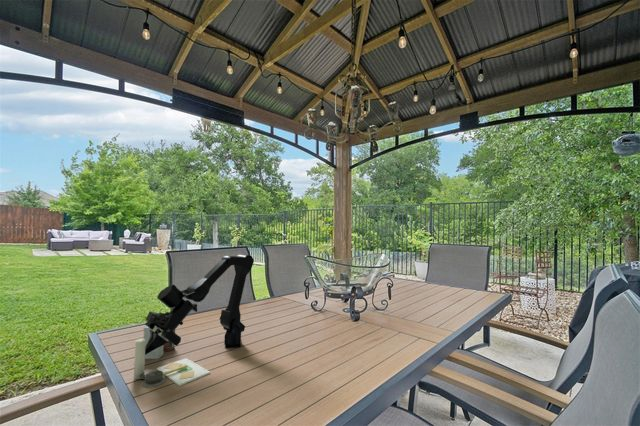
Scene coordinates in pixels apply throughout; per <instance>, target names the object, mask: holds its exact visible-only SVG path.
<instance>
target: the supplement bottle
mask: <svg viewBox="0 0 640 426" xmlns="http://www.w3.org/2000/svg"><path fill="white" fill-rule="evenodd" d="M173 332H175V333H176V329H175V330H174V331H173ZM167 342H169V343H168V344H167V343H166V344H164V345H163V352H169V351H172V350H173V349H175V346H176V345H174V344H173V343H172V342H171V341H169V340H168V341H167Z"/></svg>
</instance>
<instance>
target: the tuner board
mask: <svg viewBox="0 0 640 426" xmlns="http://www.w3.org/2000/svg"><path fill="white" fill-rule="evenodd" d="M184 364H186V365H187V368H184V369H181V370H178V371H175V372H172V373H170V374H167V375H164V376H163V379H162V380H161V381H160V382H157V383H154V384H147V383H146V382H145V380H146V379H143V381H142V383H141V386H142V387H144V388H153V387H158V386H160V385H162V384H164V383H165V381H167V380H166V378H167V379H169V380H170V381H171V382H173V383H174V384H175V385H177V386H178V387H180V386H183V385H185V384H188V383H190V382H193V381H195V380H198V379H200V378H203V377H205V376H207V375H210V374H211V371H209V370H208V369H206V368H204V367H203V366H201V365H199V364H197V363H196V362H194V361H193V360H190V359H189V358H187V357H185V358H181V359H179V360H175V361H173V362H170V363H168V364H165V365H161V366H159V367H156V369H155V371H162V372H166V371H169V370H172V369H174V368H177V367H180V366H181V365H184Z"/></svg>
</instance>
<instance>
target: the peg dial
mask: <svg viewBox="0 0 640 426" xmlns="http://www.w3.org/2000/svg"><path fill="white" fill-rule="evenodd" d="M145 342H146V340H145V339H144V338H139V339H136V340H135V342H134V363H133V365H134V367H133V379H135V380H140V379H142V380H145V382H146V383H147V384H154V383H157V382H160V381H161V380H162V379H163V376H164V375H167V374H170V373H172V372H175V371H178V370H181V369H184V368H187V365H186V364H184V365H181V366H180V367H177V368H174V369H172V370H169V371H166V372H162V371H157V370H154V371H153V370H152V371H150V372H145V367H146V366H145V365H146V364H145V363H146V359H145ZM164 377H165V376H164Z"/></svg>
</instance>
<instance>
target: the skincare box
mask: <svg viewBox="0 0 640 426" xmlns="http://www.w3.org/2000/svg"><path fill="white" fill-rule="evenodd" d="M150 330H152V329H150V328H149V327H148V326H146V325H145V327H143V339H145V340H146V342H145V347H146V345H147V343H148V341H149V339H150ZM163 355H164V351H163V345H162V346H160V347H158V348H157V349H155V350H153V351H151V352H149V353H148V354H146V355H145V360H158V359H160V358H161V357H162V356H163Z"/></svg>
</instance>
